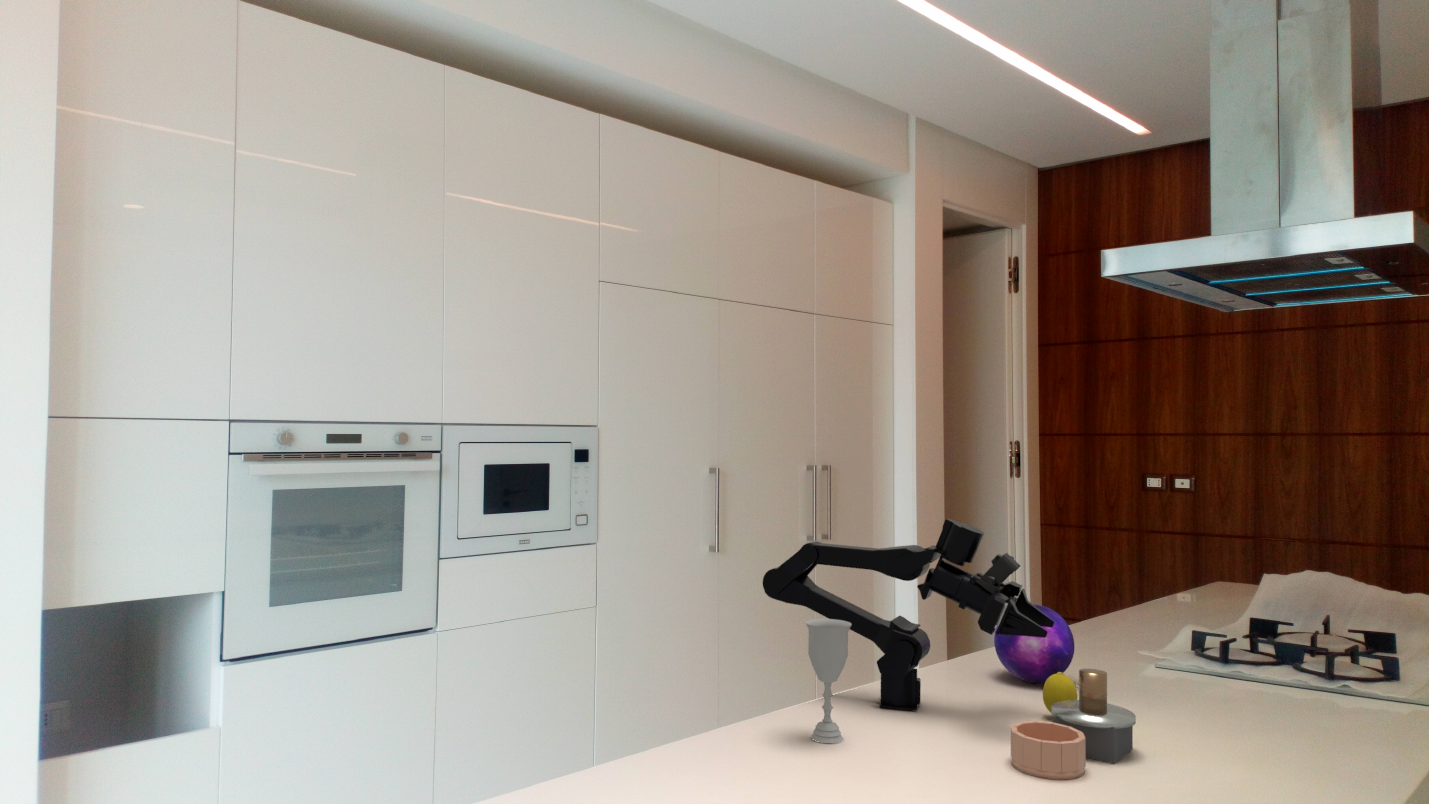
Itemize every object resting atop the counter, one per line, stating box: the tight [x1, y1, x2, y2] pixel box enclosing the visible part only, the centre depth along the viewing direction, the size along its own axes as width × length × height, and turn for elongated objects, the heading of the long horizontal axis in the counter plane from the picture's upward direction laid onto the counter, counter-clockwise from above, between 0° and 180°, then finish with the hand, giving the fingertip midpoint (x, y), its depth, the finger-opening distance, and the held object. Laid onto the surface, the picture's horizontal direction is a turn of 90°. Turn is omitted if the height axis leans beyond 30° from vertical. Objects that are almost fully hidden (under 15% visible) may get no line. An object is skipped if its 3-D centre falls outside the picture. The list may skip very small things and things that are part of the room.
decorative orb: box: [993, 603, 1075, 684], centre depth 180 cm, size 15×15×15 cm
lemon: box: [1042, 672, 1078, 714], centre depth 155 cm, size 6×6×8 cm
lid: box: [1051, 668, 1137, 729], centre depth 140 cm, size 12×12×7 cm
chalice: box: [804, 618, 852, 744], centre depth 143 cm, size 7×7×18 cm
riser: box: [1052, 715, 1134, 765], centre depth 140 cm, size 9×9×5 cm
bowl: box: [1010, 720, 1086, 780], centre depth 132 cm, size 10×10×5 cm
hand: (1050, 629), depth 150 cm, fingers open, 9 cm apart
